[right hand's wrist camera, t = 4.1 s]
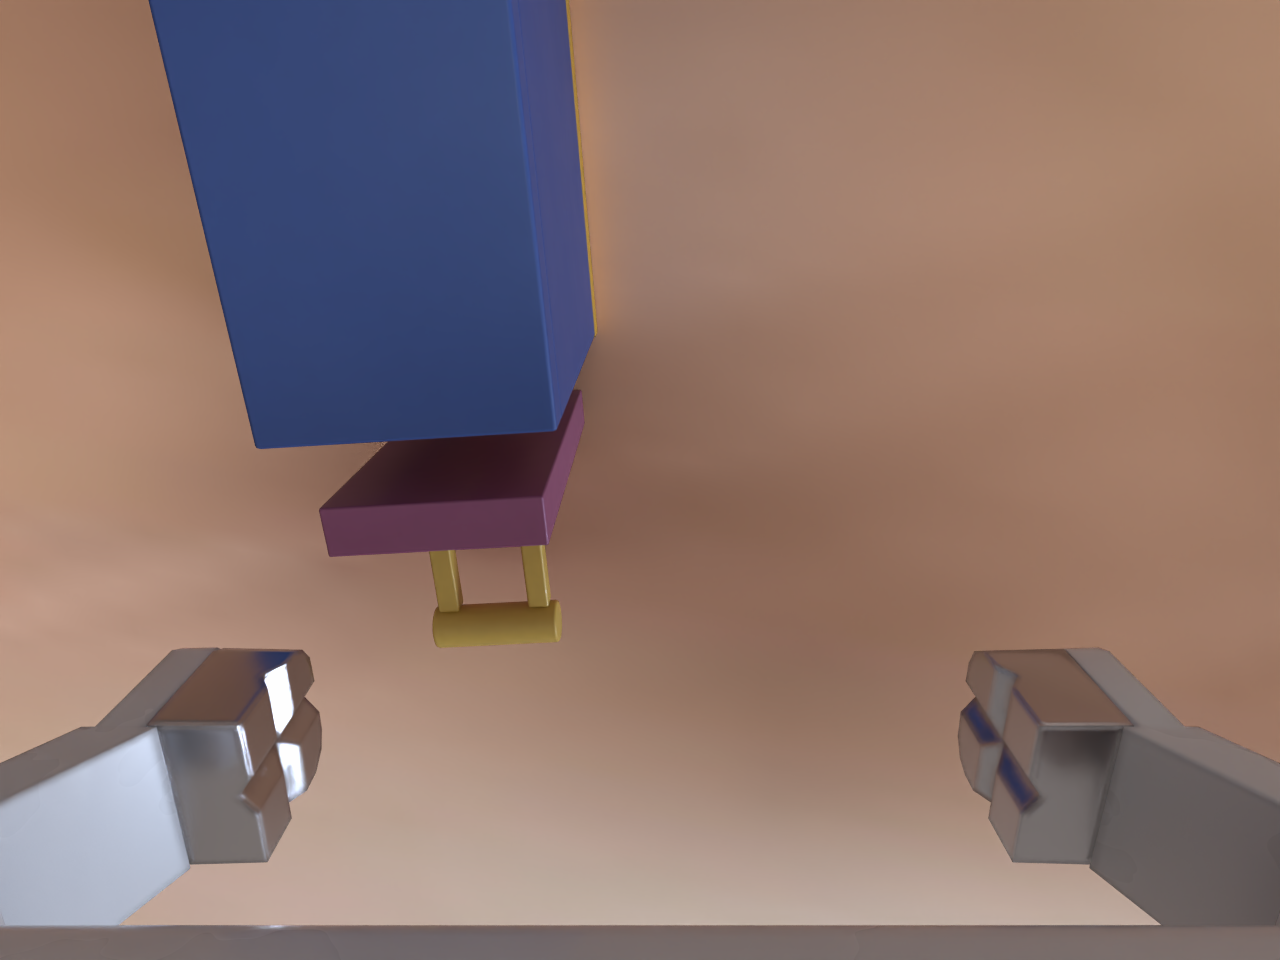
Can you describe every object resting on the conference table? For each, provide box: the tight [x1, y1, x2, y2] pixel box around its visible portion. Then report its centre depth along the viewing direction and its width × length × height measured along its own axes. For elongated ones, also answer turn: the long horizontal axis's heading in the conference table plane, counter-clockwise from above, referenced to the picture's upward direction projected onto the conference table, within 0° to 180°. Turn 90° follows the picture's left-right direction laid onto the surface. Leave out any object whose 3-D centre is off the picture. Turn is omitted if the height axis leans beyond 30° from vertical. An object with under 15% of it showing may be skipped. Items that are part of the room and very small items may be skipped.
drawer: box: [319, 390, 585, 648], centre depth 21 cm, size 23×5×10 cm, turn 4°
